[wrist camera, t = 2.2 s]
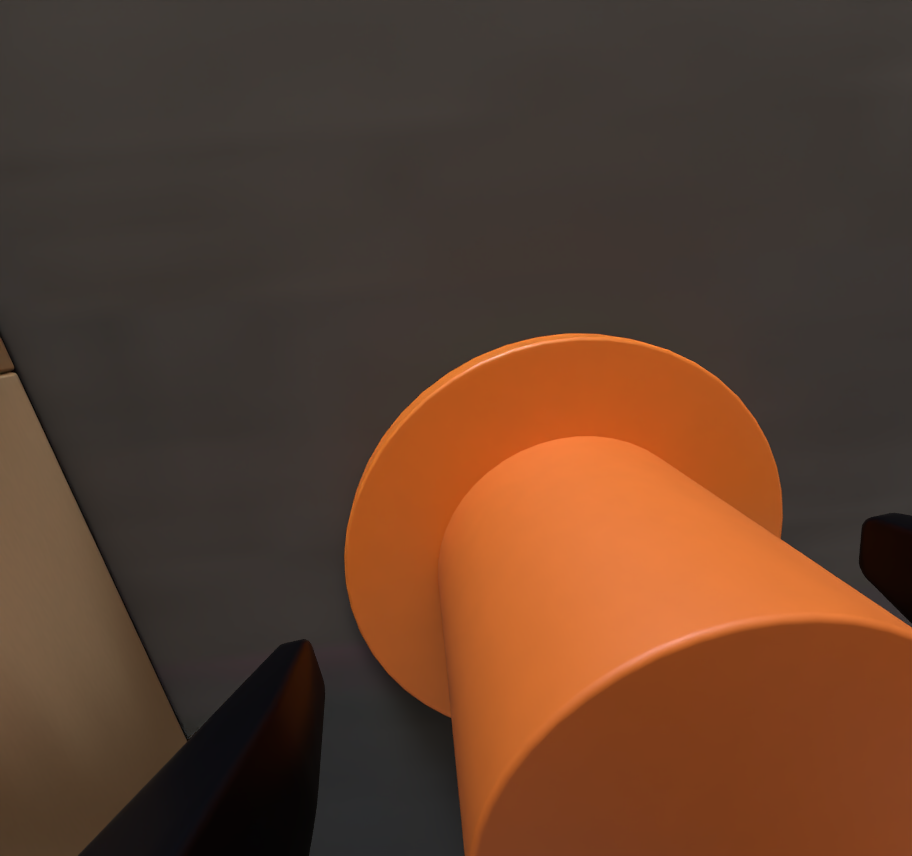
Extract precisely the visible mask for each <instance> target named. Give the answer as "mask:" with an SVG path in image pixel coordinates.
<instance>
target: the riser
mask: <svg viewBox="0 0 912 856" xmlns="http://www.w3.org/2000/svg"><path fill="white" fill-rule="evenodd" d="M12 370H14V365H13V363H12V361H11V358H10V356H9V354H8V352H7V350H6V348H5V346H4V343H3V341H2V339H1V337H0V856H78V855H79V854H80V853H81V851H82V850H83V849H84V848H85V847H86V846H87V845H88V844H89V843H90V842H91V841H92V840H93V839H94V838H95V837H96V836H97V835H98V834H99V833H100V832H101V831H102V830H103V829H104V828H105V827H106V826H107V824H108V823H109V822H110V821H111V820H112V819H113V818H114V817H115V816H116V815H117V814H118V813H119V812H120V811H121V810H122V809H123V808H124V807H125V806H126V805H127V804H128V803H129V802H130V801H131V800H132V798H133V797H134V796H135V795H136V794H137V793H138V792H139V791H140V790H141V789H142V788H143V787H144V786H145V785H146V784H147V783H148V782H149V781H150V780H151V779H152V778H153V777H154V776H155V775H156V773H157V772H158V771H159V770H160V769H161V768H162V767H163V766H164V765H165V764H166V763H167V762H168V761H169V760H170V759H171V758H172V757H173V756H174V755H175V754H176V753H177V752H178V751H179V750H180V749H181V747H182V746H183V745H184V744H185V743H186V742H187V740H186V738H185V736H184V733H183V731H182V729H181V727H180V725H179V723H178V720H177V718H176V716H175V714H174V712H173V710H172V708H171V705H170V703H169V701H168V699H167V697H166V695H165V692H164V690H163V688H162V686H161V684H160V682H159V679H158V677H157V675H156V673H155V671H154V669H153V666H152V664H151V662H150V660H149V658H148V656H147V653H146V651H145V649H144V647H143V645H142V643H141V641H140V638H139V636H138V634H137V632H136V630H135V628H134V625H133V623H132V621H131V619H130V617H129V615H128V612H127V610H126V608H125V606H124V604H123V602H122V599H121V597H120V595H119V593H118V591H117V589H116V586H115V584H114V582H113V580H112V578H111V576H110V574H109V571H108V569H107V567H106V565H105V563H104V561H103V558H102V556H101V554H100V552H99V550H98V548H97V545H96V543H95V541H94V539H93V537H92V535H91V532H90V530H89V528H88V526H87V524H86V522H85V519H84V517H83V515H82V513H81V511H80V509H79V507H78V504H77V502H76V500H75V498H74V496H73V494H72V491H71V489H70V487H69V485H68V483H67V481H66V478H65V476H64V474H63V472H62V470H61V468H60V465H59V463H58V461H57V459H56V457H55V455H54V452H53V450H52V448H51V446H50V444H49V442H48V440H47V437H46V435H45V433H44V431H43V429H42V427H41V424H40V422H39V420H38V418H37V416H36V414H35V411H34V409H33V407H32V405H31V403H30V401H29V398H28V396H27V394H26V392H25V390H24V388H23V385H22V383H21V381H20V379H19V377H18V375H17V374H16V373H13V372H11V371H12Z"/></svg>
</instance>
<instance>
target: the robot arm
mask: <svg viewBox="0 0 912 856" xmlns="http://www.w3.org/2000/svg"><path fill="white" fill-rule="evenodd" d="M859 565H860V568H861V571H862V573H863V574H864V576H865V577H866V578H867V579H868V580H869V581H870V582H871V583H872V584H873V585H874V586H875V587H876V588H877V589H878V590H879V591H880V592H881V593H882V594H883V595H884V596H885V597H886V598H887V599H888V600H889V601H890V602H891V603H892V604H893V605H894V606H895V607H896V608H897V609H898V610H899V611H900V612H901V613H902V614H903V615H904V616H905V617H906V618H907V619H908V620H909V621H910V622H911V623H912V516H910V515H905V514H899V513H889V514H884V515H880V516H875V517H871V518H868V519H867V520H865V522H864V523H863V525H862V532H861V543H860V555H859ZM324 704H325V686H324V681H323V677H322V674H321V671H320V668H319V665H318V662H317V659H316V656H315V653H314V650H313V647H312V645H311V643H310V642H309V641H308V640H306V639H302V640H298V641H293V642H288V643H284V644H282V645H280V646H279V647H278V648H277V649H276V650H275V651H274V652H273V653H272V654H271V655H270V656H269V657H268V658H267V659H266V660H265V661H264V662H263V663H262V664H261V665H260V666H259V667H258V668H257V669H256V670H255V672H254V673H253V674H252V675H251V676H250V677H249V678H248V679H247V680H246V681H245V682H244V683H243V684H242V685H241V686H240V687H239V688H238V689H237V690H236V691H235V692H234V693H233V694H232V695H231V696H230V698H229V699H228V700H227V701H226V702H225V703H224V704H223V705H222V706H221V707H220V708H219V709H218V710H217V711H216V712H215V713H214V714H213V715H212V716H211V717H210V718H209V719H208V720H207V721H206V723H205V724H204V725H203V726H202V727H201V728H200V729H199V730H198V731H197V732H196V733H195V734H194V735H193V736H192V737H191V738H190V739H189V740H188V741H187V742H186V743H185V744H184V745H183V746H182V747H181V749H180V750H179V751H178V752H177V753H176V754H175V755H174V756H173V757H172V758H171V759H170V760H169V761H168V762H167V763H166V764H165V765H164V766H163V767H162V768H161V769H160V770H159V771H158V772H157V773H156V775H155V776H154V777H153V778H152V779H151V780H150V781H149V782H148V783H147V784H146V785H145V786H144V787H143V788H142V789H141V790H140V791H139V792H138V793H137V794H136V795H135V796H134V797H133V798H132V800H131V801H130V802H129V803H128V804H127V805H126V806H125V807H124V808H123V809H122V810H121V811H120V812H119V813H118V814H117V815H116V816H115V817H114V818H113V819H112V820H111V821H110V822H109V823H108V824H107V826H106V827H105V828H104V829H103V830H102V831H101V832H100V833H99V834H98V835H97V836H96V837H95V838H94V839H93V840H92V841H91V842H90V843H89V844H88V845H87V846H86V847H85V848H84V849H83V850H82V851H81V853H80V854H79V855H78V856H309V852H310V846H311V840H312V834H313V828H314V822H315V815H316V808H317V798H318V787H319V773H320V759H321V745H322V732H323V718H324Z"/></svg>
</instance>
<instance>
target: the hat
mask: <svg viewBox="0 0 912 856" xmlns="http://www.w3.org/2000/svg"><path fill="white" fill-rule="evenodd" d="M782 520H783V511H782V491H781V486H780V480H779V475H778V470H777V466H776V463H775V460H774V457H773V454H772V452H771V449H770V446H769V443H768V441H767V439H766V438H765V436H764V434H763V432H762V430H761V428H760V426H759V425H758V423H757V421H756V419H755V418H754V417H753V415H752V414H751V413H750V411H749V410H748V409H747V407H746V406H745V405H744V404H743V402H742V401H741V400H740V398H739V397H738V396H737V395H736V394H735V393H734V392H732V391H731V390H730V389H729V388H728V387H727V386H726V385H725V384H724V383H723V382H722V381H721V380H720V379H719V378H717V377H716V376H714V375H713V374H711V373H710V372H708V371H707V370H705V369H704V368H702V367H701V366H699V365H698V364H697V363H695V362H693V361H691V360H689V359H687V358H684V357H682V356H680V355H678V354H676V353H674V352H672V351H670V350H667V349H664V348H660V347H657V346H654V345H650V344H647V343H644V342H641V341H636V340H632V339H628V338H621V337H615V336H608V335H601V334H559V335H551V336H543V337H536V338H532V339H528V340H524V341H520V342H517V343H513V344H509V345H505V346H503V347H500V348H498V349H495V350H493V351H490V352H488V353H485V354H483V355H481V356H478V357H476V358H474V359H472V360H470V361H469V362H467V363H465V364H463V365H462V366H460V367H458V368H456V369H455V370H453V371H451V372H449V373H448V374H446V375H445V376H444V377H442V378H441V379H440V380H438V381H437V382H436V383H434V384H433V385H432V386H430V387H429V388H428V389H426V390H425V391H424V392H422V393H421V394H420V395H419V396H418V397H417V398H416V399H415V400H414V401H413V402H412V403H411V404H410V405H409V406H408V407H407V408H406V409H405V410H404V411H403V412H402V413H401V414H400V415H399V417H398V418H397V419H396V421H395V422H394V423H393V424H392V426H391V427H390V428H389V430H388V431H387V432H386V433H385V435H384V436H383V437H382V439H381V441H380V442H379V444H378V446H377V447H376V449H375V451H374V453H373V454H372V456H371V458H370V459H369V461H368V463H367V465H366V468H365V470H364V473H363V475H362V478H361V480H360V483H359V485H358V487H357V490H356V494H355V498H354V502H353V506H352V510H351V514H350V518H349V522H348V526H347V532H346V542H345V553H344V561H345V579H346V586H347V591H348V596H349V600H350V605H351V609H352V611H353V614H354V617H355V619H356V622H357V625H358V627H359V630H360V632H361V634H362V636H363V638H364V639H365V641H366V643H367V645H368V647H369V648H370V650H371V652H372V654H373V655H374V656H375V658H376V659H377V660H378V662H379V663H380V664H381V665H382V667H383V668H384V669H385V671H386V672H387V673H388V674H389V675H390V676H391V677H392V678H393V679H394V680H395V681H396V682H397V683H398V684H399V685H400V686H401V687H402V688H403V689H404V690H406V691H407V692H408V693H410V694H411V695H412V696H414V697H415V698H417V699H418V700H419V701H421V702H422V703H423V704H425V705H427V706H429V707H430V708H432V709H434V710H436V711H438V712H440V713H441V714H443V715H445V716H447V717H450V718H451V719H452V729H453V740H454V750H455V760H456V771H457V781H458V791H459V802H460V812H461V822H462V833H463V843H464V854H465V856H912V627H910V626H909V625H907V624H906V623H904V622H903V621H901V620H900V619H898V618H897V617H895V616H894V615H892V614H891V613H889V612H888V611H886V610H885V609H883V608H882V607H880V606H879V605H877V604H876V603H874V602H873V601H871V600H870V599H868V598H867V597H866V596H864V595H863V594H861V593H860V592H858V591H857V590H855V589H854V588H852V587H851V586H849V585H848V584H846V583H845V582H843V581H842V580H840V579H839V578H837V577H836V576H834V575H833V574H831V573H830V572H828V571H827V570H825V569H824V568H822V567H821V566H819V565H818V564H817V563H815V562H814V561H812V560H811V559H809V558H808V557H806V556H805V555H803V554H802V553H800V552H799V551H797V550H796V549H794V548H793V547H791V546H790V545H788V544H787V543H785V542H784V541H782V540H781V530H782Z"/></svg>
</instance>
